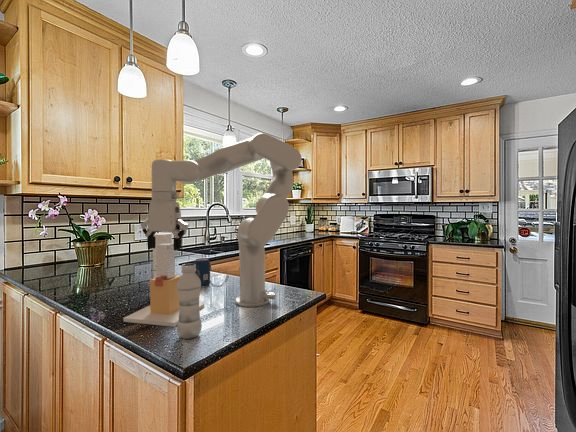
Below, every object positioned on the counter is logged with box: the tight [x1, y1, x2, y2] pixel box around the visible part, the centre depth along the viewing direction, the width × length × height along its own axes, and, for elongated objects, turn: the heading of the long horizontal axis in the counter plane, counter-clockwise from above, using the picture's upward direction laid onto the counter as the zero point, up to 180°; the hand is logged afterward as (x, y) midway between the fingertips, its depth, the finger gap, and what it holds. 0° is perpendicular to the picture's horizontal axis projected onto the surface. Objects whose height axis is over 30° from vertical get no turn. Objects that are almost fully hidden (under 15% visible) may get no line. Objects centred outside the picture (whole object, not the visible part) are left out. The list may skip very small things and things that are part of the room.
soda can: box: [193, 257, 211, 288], centre depth 136 cm, size 7×7×12 cm
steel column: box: [156, 242, 176, 280], centre depth 100 cm, size 4×4×22 cm
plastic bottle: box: [176, 263, 203, 340], centre depth 83 cm, size 6×7×20 cm
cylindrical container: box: [152, 232, 173, 279], centre depth 121 cm, size 7×7×25 cm
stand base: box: [122, 275, 205, 328], centre depth 100 cm, size 18×18×13 cm
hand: (164, 249), depth 100 cm, fingers open, 9 cm apart
